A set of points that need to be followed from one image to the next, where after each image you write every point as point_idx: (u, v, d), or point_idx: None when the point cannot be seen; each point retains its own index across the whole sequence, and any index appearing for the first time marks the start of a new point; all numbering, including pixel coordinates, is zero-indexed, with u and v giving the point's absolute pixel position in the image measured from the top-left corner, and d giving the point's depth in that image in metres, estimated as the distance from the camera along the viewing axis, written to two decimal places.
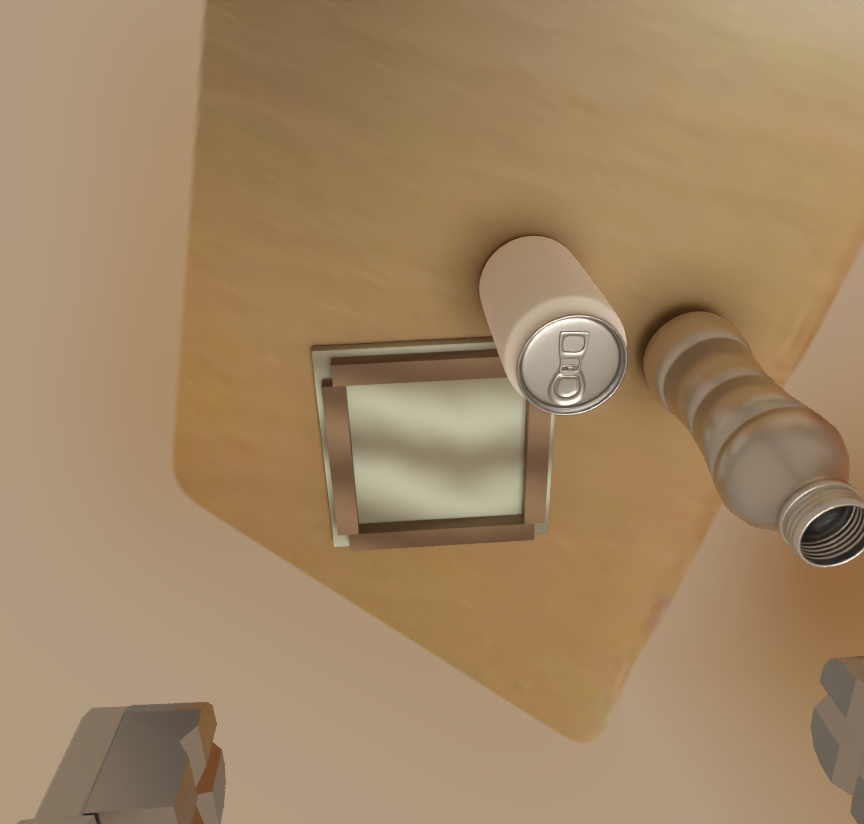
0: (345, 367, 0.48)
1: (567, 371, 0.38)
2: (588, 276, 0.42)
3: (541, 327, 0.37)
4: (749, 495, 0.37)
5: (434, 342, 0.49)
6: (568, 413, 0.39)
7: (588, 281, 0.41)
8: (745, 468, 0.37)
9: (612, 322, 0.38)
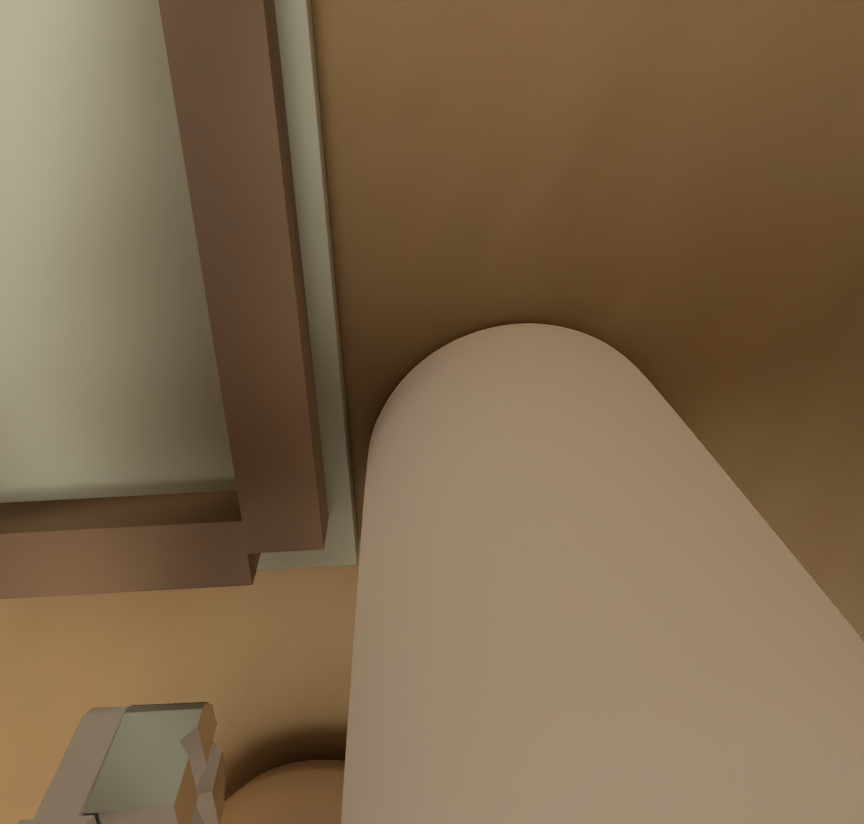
0: None
1: None
2: None
3: None
4: None
5: (324, 177, 0.14)
6: None
7: None
8: None
9: None
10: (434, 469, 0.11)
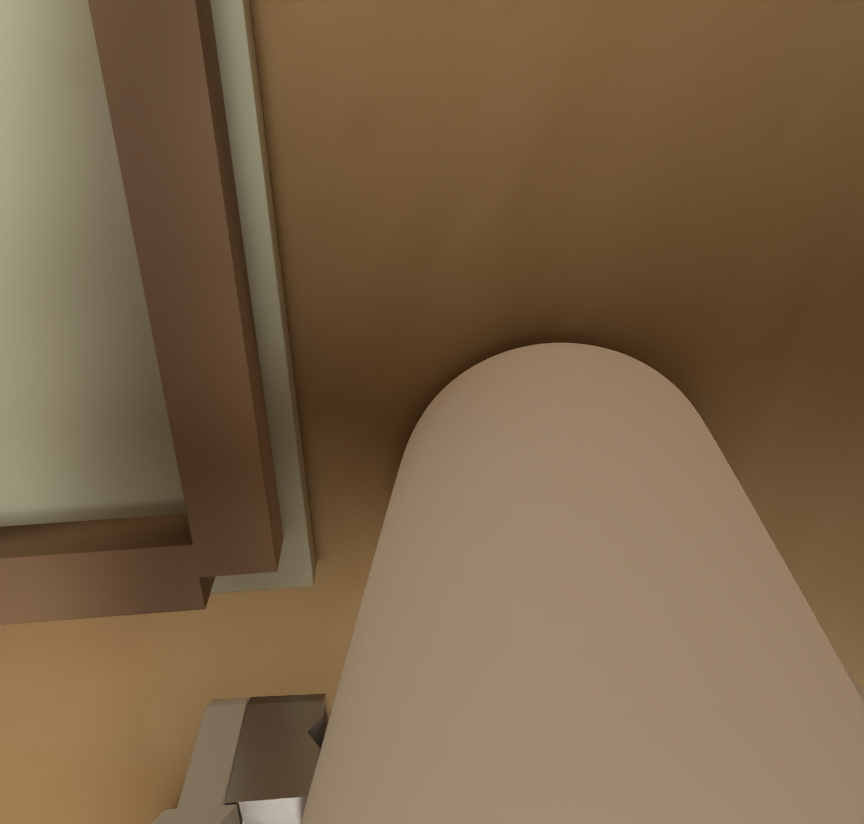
0: None
1: None
2: None
3: None
4: None
5: (270, 199, 0.14)
6: None
7: None
8: None
9: None
10: (434, 495, 0.11)
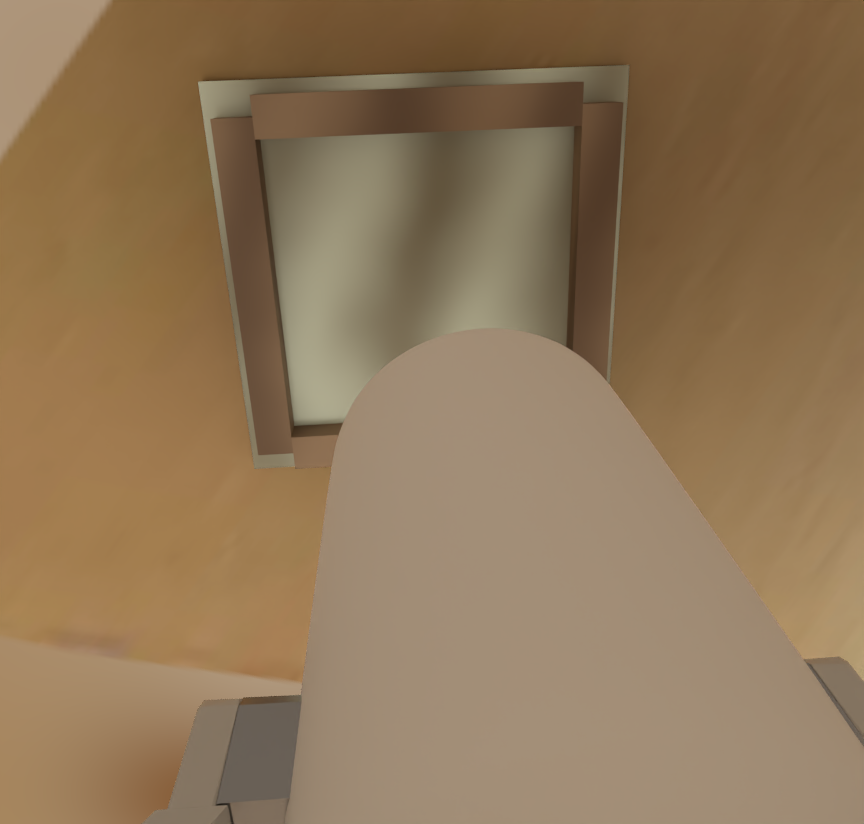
0: (616, 129, 0.28)
1: None
2: None
3: None
4: None
5: None
6: None
7: None
8: None
9: None
10: (373, 486, 0.11)
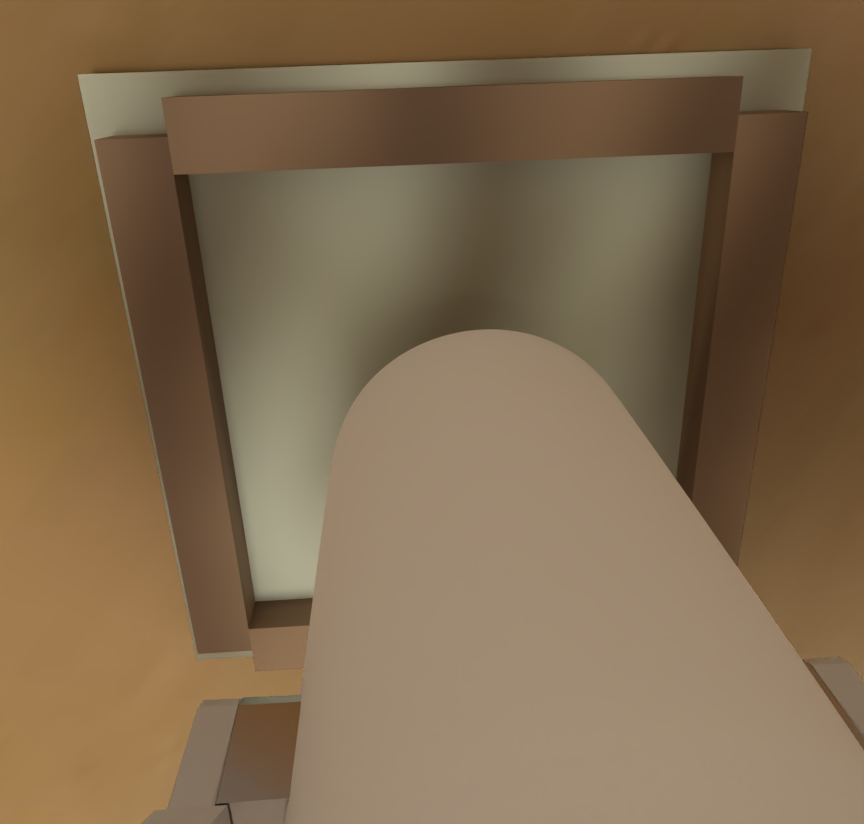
0: (792, 157, 0.17)
1: None
2: None
3: None
4: None
5: None
6: None
7: None
8: None
9: None
10: (372, 487, 0.11)
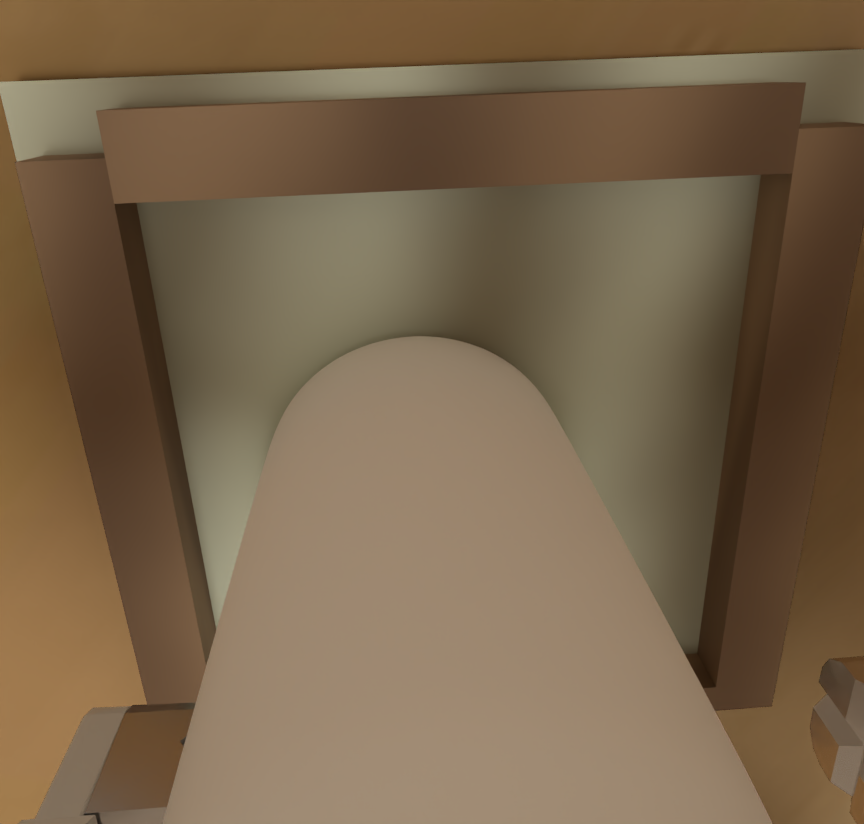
0: (861, 179, 0.14)
1: None
2: None
3: None
4: None
5: None
6: None
7: None
8: None
9: None
10: (281, 493, 0.11)
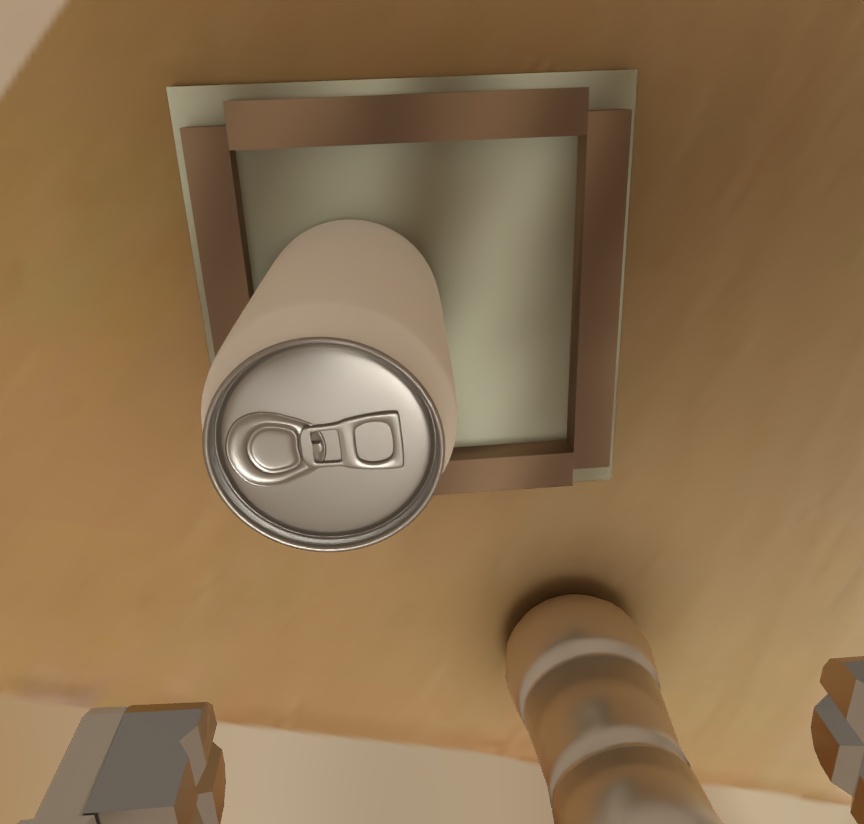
0: (624, 138, 0.26)
1: (308, 442, 0.18)
2: None
3: (408, 373, 0.17)
4: None
5: None
6: (209, 465, 0.18)
7: None
8: None
9: None
10: (264, 279, 0.23)
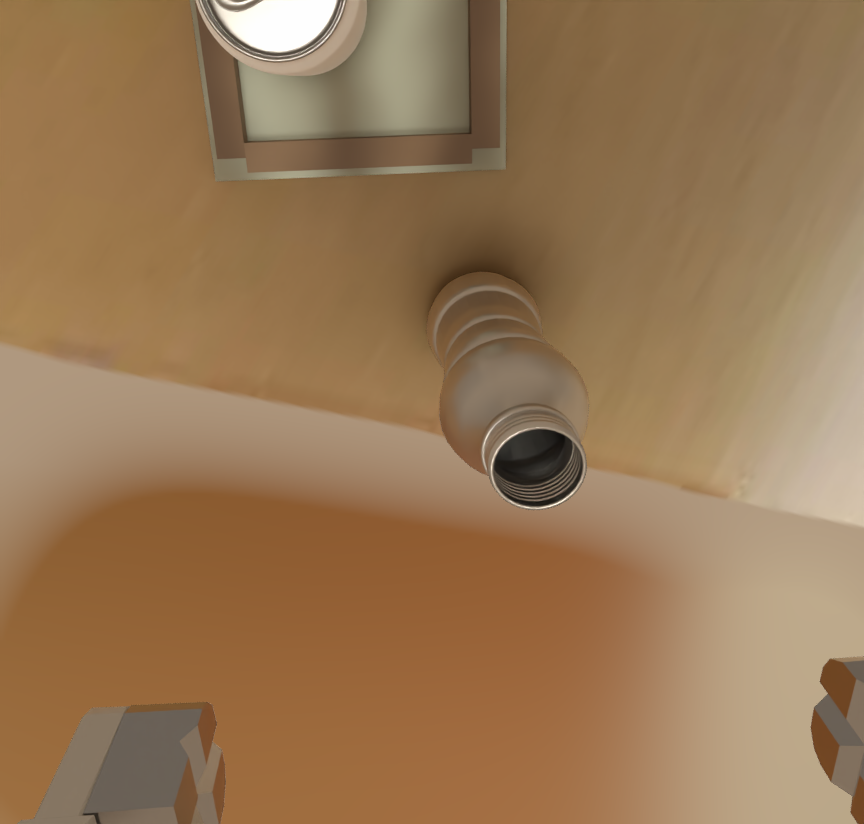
0: None
1: None
2: (351, 45, 0.35)
3: None
4: (520, 374, 0.30)
5: None
6: None
7: (357, 28, 0.33)
8: (543, 364, 0.31)
9: (336, 34, 0.29)
10: None
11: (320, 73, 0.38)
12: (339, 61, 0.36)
